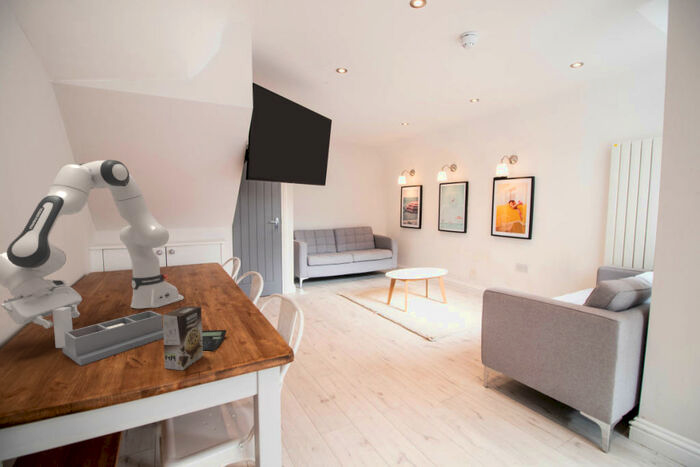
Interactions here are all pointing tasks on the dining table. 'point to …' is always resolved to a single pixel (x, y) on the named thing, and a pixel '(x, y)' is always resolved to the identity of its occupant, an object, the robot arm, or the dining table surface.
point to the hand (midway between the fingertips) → (64, 321)
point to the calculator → (212, 339)
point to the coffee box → (182, 337)
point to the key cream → (115, 326)
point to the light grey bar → (62, 324)
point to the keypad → (112, 337)
